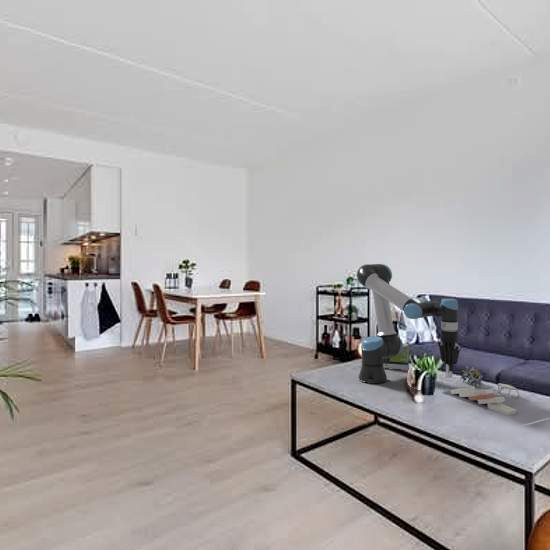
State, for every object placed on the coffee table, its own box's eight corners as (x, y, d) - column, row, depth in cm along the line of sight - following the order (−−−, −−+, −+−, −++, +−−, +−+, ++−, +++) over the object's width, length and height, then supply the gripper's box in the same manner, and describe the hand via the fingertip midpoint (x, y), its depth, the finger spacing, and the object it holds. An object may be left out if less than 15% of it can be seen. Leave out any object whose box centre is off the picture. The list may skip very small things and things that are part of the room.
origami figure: (490, 395, 194) (490, 385, 194) (499, 391, 199) (499, 382, 199) (517, 402, 184) (517, 391, 184) (525, 398, 189) (525, 387, 189)
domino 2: (458, 393, 191) (475, 391, 183) (466, 391, 193) (483, 390, 185) (459, 397, 191) (476, 395, 182) (467, 395, 193) (484, 394, 184)
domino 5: (487, 403, 177) (508, 411, 168) (495, 401, 179) (516, 409, 170) (487, 407, 177) (508, 416, 168) (495, 405, 179) (516, 414, 170)
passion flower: (476, 397, 207) (473, 382, 201) (456, 388, 216) (453, 373, 210) (487, 382, 212) (484, 366, 206) (467, 374, 220) (464, 359, 214)
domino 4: (477, 399, 182) (495, 398, 173) (485, 398, 184) (503, 396, 175) (478, 404, 181) (497, 402, 173) (486, 402, 183) (505, 400, 175)
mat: (441, 393, 198) (441, 392, 198) (456, 390, 202) (456, 389, 202) (486, 410, 175) (486, 409, 175) (501, 406, 179) (501, 405, 179)
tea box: (409, 367, 248) (409, 343, 247) (407, 371, 239) (407, 346, 238) (384, 365, 254) (384, 341, 253) (381, 369, 245) (381, 344, 244)
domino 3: (477, 399, 188) (494, 397, 179) (469, 400, 186) (487, 399, 177) (475, 395, 188) (493, 393, 180) (468, 396, 186) (485, 394, 178)
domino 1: (450, 390, 196) (466, 388, 187) (457, 388, 198) (473, 387, 189) (451, 394, 195) (467, 392, 187) (458, 392, 197) (475, 390, 189)
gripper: (433, 328, 203) (433, 374, 204) (454, 332, 191) (453, 381, 192) (444, 327, 206) (444, 372, 207) (465, 331, 194) (465, 379, 195)
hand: (449, 377), depth 199 cm, fingers closed
